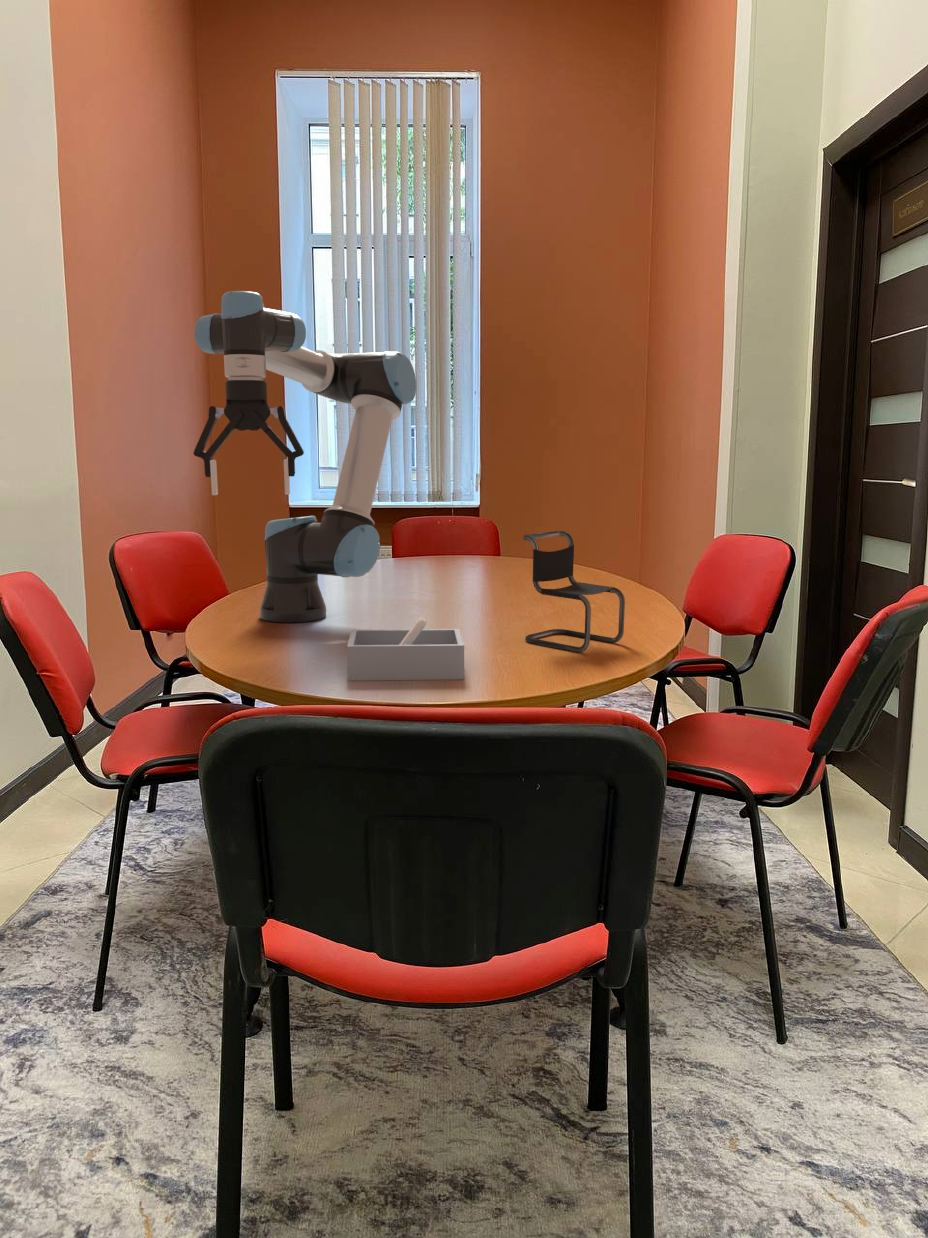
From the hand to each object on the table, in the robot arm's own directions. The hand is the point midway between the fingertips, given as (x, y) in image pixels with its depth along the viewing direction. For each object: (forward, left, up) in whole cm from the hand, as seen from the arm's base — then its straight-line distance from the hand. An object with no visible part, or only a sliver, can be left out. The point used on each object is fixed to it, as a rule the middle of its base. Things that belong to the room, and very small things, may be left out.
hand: (251, 494), depth 173 cm
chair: (-2, +63, -30) cm, 70 cm away
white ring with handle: (+19, +29, -30) cm, 46 cm away
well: (+19, +29, -30) cm, 46 cm away
